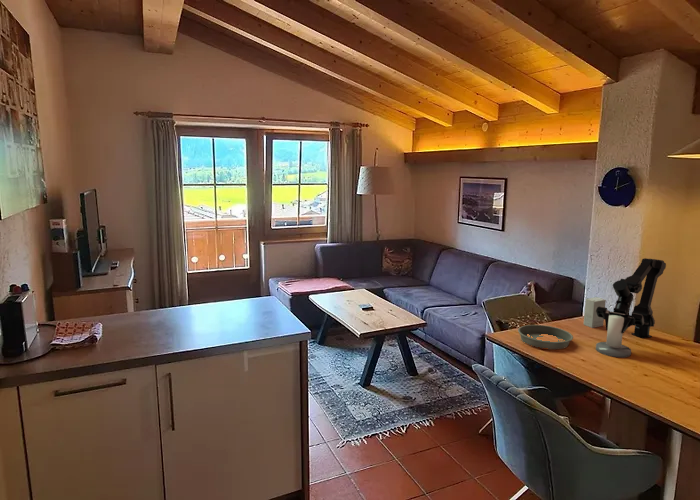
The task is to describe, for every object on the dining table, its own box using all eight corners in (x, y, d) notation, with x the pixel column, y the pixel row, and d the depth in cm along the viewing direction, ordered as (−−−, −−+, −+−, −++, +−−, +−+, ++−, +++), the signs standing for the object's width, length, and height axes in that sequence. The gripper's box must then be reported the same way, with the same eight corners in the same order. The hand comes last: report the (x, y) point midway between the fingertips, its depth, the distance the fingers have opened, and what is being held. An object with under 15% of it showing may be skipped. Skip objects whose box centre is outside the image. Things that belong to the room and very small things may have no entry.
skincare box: (594, 323, 250) (597, 296, 248) (603, 326, 245) (606, 299, 242) (582, 324, 247) (585, 298, 245) (591, 328, 242) (594, 300, 239)
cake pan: (530, 351, 210) (530, 342, 209) (509, 333, 234) (510, 324, 234) (582, 351, 211) (583, 341, 210) (557, 332, 235) (557, 324, 235)
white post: (616, 342, 212) (619, 315, 210) (624, 347, 206) (626, 319, 204) (603, 342, 212) (606, 315, 210) (610, 346, 207) (613, 319, 204)
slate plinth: (611, 344, 219) (611, 340, 218) (638, 355, 206) (638, 351, 205) (588, 348, 214) (589, 343, 214) (614, 359, 201) (615, 354, 201)
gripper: (649, 316, 212) (639, 345, 206) (604, 308, 225) (595, 335, 219) (646, 303, 205) (637, 333, 199) (600, 295, 218) (590, 323, 212)
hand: (614, 331), depth 207 cm, fingers closed on white post, 6 cm apart
